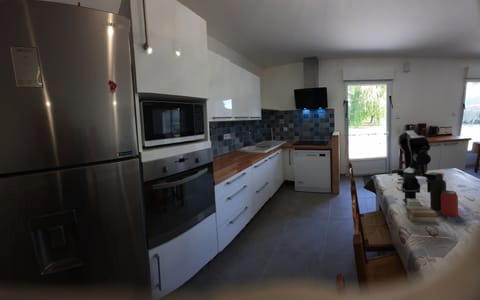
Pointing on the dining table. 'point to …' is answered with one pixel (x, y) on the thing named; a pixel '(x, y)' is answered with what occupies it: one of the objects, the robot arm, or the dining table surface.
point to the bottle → (437, 193)
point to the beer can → (449, 203)
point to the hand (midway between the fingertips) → (418, 190)
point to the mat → (421, 222)
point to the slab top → (421, 211)
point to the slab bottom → (421, 218)
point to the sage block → (413, 202)
